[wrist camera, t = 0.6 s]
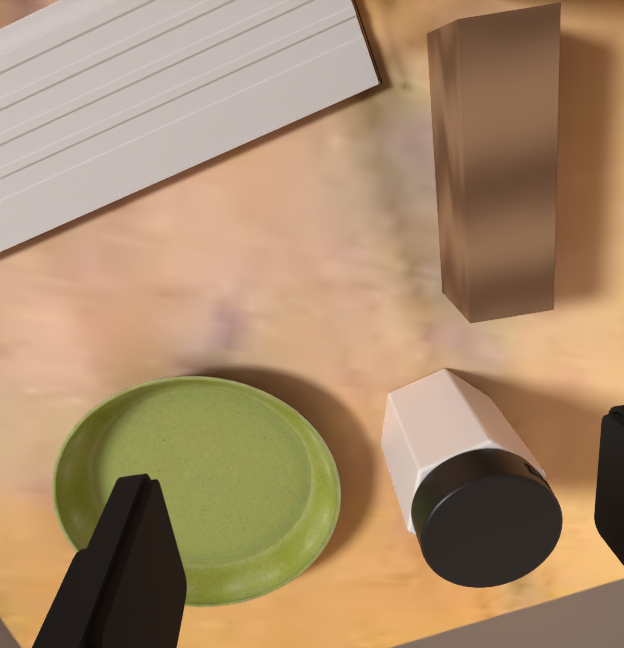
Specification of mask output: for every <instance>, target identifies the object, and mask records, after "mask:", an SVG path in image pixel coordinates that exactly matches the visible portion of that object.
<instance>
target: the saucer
mask: <svg viewBox="0 0 624 648" xmlns="http://www.w3.org/2000/svg"><path fill="white" fill-rule="evenodd" d="M145 473H146V474H148V475H149V477H150V479H151V480H153V479H157V480H158V481H159V482H160V485H161V489H162V492H163V496H164V500H165V503H166V507H167V510H168V514H169V518H170V521H171V525H172V528H173V532H174V535H175V539H176V543H177V546H178V550H179V553H180V557H181V561H182V564H183V568H184V571H185V575H186V581H187V594H186V600H185V605H184V606H189V607H214V606H223V605H230V604H236V603H241V602H245V601H249V600H252V599H255V598H258V597H261V596H264V595H266V594H268V593H270V592H273V591H275V590H277V589H279V588H281V587H283V586H284V585H286V584H288V583H289V582H291V581H292V580H294V579H295V578H296V577H298V576H299V575H300V574H302V573H303V572H304V571H305V570H306V569H307V568H309V567H310V566H311V564H312V563H313V562H314V561H315V560H316V559H317V558H318V556H319V555H320V554H321V552H322V551H323V550H324V548H325V547H326V545H327V543H328V542H329V540H330V538H331V536H332V534H333V532H334V529H335V527H336V524H337V520H338V517H339V512H340V505H341V486H340V479H339V474H338V470H337V466H336V463H335V461H334V458H333V456H332V454H331V452H330V449H329V448H328V446H327V444H326V443H325V441H324V440H323V438H322V437H321V435H320V434H319V433H318V431H317V430H316V429H315V428H314V427H313V426H312V424H311V423H310V422H309V421H308V420H307V419H306V418H304V417H303V416H302V415H301V414H300V413H299V412H298V411H296V410H295V409H294V408H292V407H291V406H290V405H288V404H287V403H285V402H283V401H282V400H280V399H278V398H277V397H275V396H273V395H271V394H269V393H267V392H265V391H263V390H260V389H258V388H255V387H253V386H250V385H247V384H244V383H240V382H237V381H233V380H228V379H222V378H216V377H207V376H178V377H169V378H162V379H157V380H152V381H148V382H144V383H141V384H138V385H135V386H132V387H130V388H127V389H125V390H123V391H120V392H118V393H116V394H114V395H113V396H111V397H109V398H107V399H106V400H104V401H102V402H101V403H99V404H98V405H97V406H95V407H94V408H93V409H91V410H90V411H89V412H88V413H87V414H86V415H85V416H84V417H83V418H82V419H81V420H80V421H79V422H78V423H77V424H76V425H75V426H74V428H73V429H72V430H71V431H70V433H69V434H68V436H67V438H66V440H65V441H64V443H63V445H62V446H61V448H60V451H59V453H58V456H57V459H56V462H55V467H54V472H53V481H52V496H53V503H54V508H55V513H56V516H57V519H58V522H59V524H60V527H61V529H62V531H63V533H64V534H65V536H66V538H67V540H68V541H69V543H70V544H71V546H72V547H73V549H74V550H75V551H76V553H77V552H78V551H79V550H81V549H85V548H87V546H88V544H89V541H90V539H91V537H92V535H93V532H94V530H95V528H96V526H97V523H98V521H99V519H100V517H101V514H102V512H103V510H104V508H105V505H106V503H107V501H108V498H109V496H110V494H111V492H112V489H113V487H114V485H115V483H116V481H117V479H118V478H119V477H124V476H131V475H138V474H145Z"/></svg>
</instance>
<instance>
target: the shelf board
mask: <svg viewBox="0 0 624 648" xmlns="http://www.w3.org/2000/svg"><path fill="white" fill-rule="evenodd" d="M560 10H561V3H556V4H550V5H543V6H537V7H531V8H525V9H519V10H512V11H506V12H500V13H494V14H488V15H482V16H475V17H469V18H463V19H458V20H456V21H453V22H451V23H449V24H447V25H445V26H443V27H441V28H438V29H436V30H434V31H432V32H430V33H428V34H427V45H428V61H429V78H430V94H431V111H432V127H433V144H434V160H435V177H436V193H437V210H438V226H439V243H440V259H441V276H442V292H443V293H444V294H445V295H446V297H447V298H448V299H449V300H450V301H451V302H452V303H453V304H454V305H455V307H456V308H457V309H458V310H459V311H460V312H461V313H462V314H463V316H464V317H465V318H466V319H467V320H468V321H469V322H470V323H475V322H481V321H487V320H494V319H500V318H506V317H512V316H518V315H524V314H530V313H536V312H542V311H549V310H554V268H555V225H556V182H557V139H558V96H559V53H560Z"/></svg>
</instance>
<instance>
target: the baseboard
mask: <svg viewBox="0 0 624 648" xmlns="http://www.w3.org/2000/svg"><path fill="white" fill-rule="evenodd" d="M354 1H355V0H354ZM355 4H356V1H355ZM356 8H357V11H358V14H359V17H360V13H359V10H358V7H357V4H356ZM360 20H361V17H360ZM361 23H362V20H361ZM362 26H363V23H362ZM363 29H364V26H363ZM364 32H365V29H364ZM365 35H366V32H365ZM366 38H367V35H366ZM367 41H368V38H367ZM368 44H369V41H368ZM369 47H370V44H369ZM370 50H371V47H370ZM371 53H372V50H371ZM372 56H373V53H372ZM373 60H374V63H375V59H374V56H373ZM375 66H376V63H375ZM376 69H377V66H376ZM377 72H378V69H377ZM378 75H379V72H378ZM379 80H380V82H381V84H382V78H380V75H379ZM378 84H379V82H378V79H377V76H376V73H375V70H374V67H373V64H372V61H371V58H370V55H369V52H368V49H367V46H366V43H365V40H364V37H363V35H362V32H361V29H360V26H359V23H358V19H357V16H356V12H355V9H354V6H353V4H352V1H351V0H59V1H57V2H55V3H53V4H51V5H49V6H47V7H45V8H43V9H41V10H39V11H37V12H35V13H33V14H30V15H28V16H26V17H24V18H22V19H20V20H18V21H16V22H14V23H12V24H10V25H8V26H6V27H4V28H2V29H0V252H1V251H4V250H6V249H8V248H10V247H13V246H15V245H17V244H19V243H22V242H24V241H26V240H29V239H31V238H33V237H35V236H38V235H40V234H42V233H44V232H47V231H49V230H51V229H53V228H56V227H58V226H60V225H62V224H65V223H67V222H69V221H71V220H74V219H76V218H78V217H80V216H83V215H85V214H87V213H89V212H92V211H94V210H96V209H98V208H101V207H103V206H105V205H107V204H110V203H112V202H114V201H116V200H119V199H121V198H123V197H125V196H128V195H130V194H132V193H134V192H137V191H139V190H141V189H143V188H146V187H148V186H150V185H152V184H155V183H157V182H159V181H161V180H164V179H166V178H168V177H170V176H173V175H175V174H177V173H179V172H182V171H184V170H186V169H188V168H191V167H193V166H195V165H197V164H200V163H202V162H204V161H207V160H209V159H211V158H213V157H216V156H218V155H220V154H222V153H225V152H227V151H229V150H231V149H234V148H236V147H238V146H240V145H243V144H245V143H247V142H249V141H252V140H254V139H256V138H258V137H261V136H263V135H265V134H267V133H270V132H272V131H274V130H276V129H279V128H281V127H283V126H285V125H288V124H290V123H292V122H294V121H297V120H299V119H301V118H303V117H306V116H308V115H310V114H312V113H315V112H317V111H319V110H321V109H324V108H326V107H328V106H330V105H333V104H335V103H337V102H339V101H342V100H344V99H346V98H348V97H351V96H353V95H355V94H357V93H360V92H362V91H364V90H366V89H369V88H371V87H373V86H375V85H378Z"/></svg>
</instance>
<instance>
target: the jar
mask: <svg viewBox="0 0 624 648" xmlns="http://www.w3.org/2000/svg"><path fill="white" fill-rule="evenodd" d="M381 447H382V450H383V454H384V457H385V460H386V463H387V466H388V469H389V473H390V476H391V479H392V482H393V485H394V488H395V492H396V495H397V498H398V501H399V504H400V508H401V511H402V514H403V517H404V520H405V523H406V527H407V529H408V531H409V532H411V533H413V534H415V535H416V536H417V539H418V542H419V545H420V548H421V551H422V554H423V556H424V558H425V560H426V562H427V564H428V565H429V566H430V568H431V569H432V570H433V571H434V572H435V573H436V574H438V575H439V576H440V577H442V578H443V579H445V580H447V581H449V582H452V583H454V584H457V585H461V586H465V587H474V588H485V587H493V586H499V585H503V584H506V583H509V582H512V581H515V580H517V579H519V578H521V577H523V576H525V575H527V574H528V573H530V572H531V571H533V570H534V569H536V568H537V567H538V566H539V565H540V564H542V563H543V562H544V561H545V560H546V558H547V557H548V556H549V555H550V554H551V552H552V551H553V549H554V548H555V546H556V544H557V542H558V540H559V537H560V534H561V530H562V519H563V518H562V511H561V507H560V505H559V502H558V500H557V498H556V497H555V495H554V493H553V492H552V490H551V487H550V486H549V485H548V483H547V482H546V480H545V477H546V473H545V471H544V470H543V468H542V467H541V466H540V464H539V463H538V462H537V460H536V459H535V458H534V456H533V455H532V454H531V452H530V451H529V450H528V448H527V447H526V445H525V444H524V443H523V441H522V440H521V439H520V437H519V436H518V435H517V433H516V432H515V431H514V429H513V428H512V427H511V425H510V424H509V422H508V421H507V420H506V418H505V417H504V416H503V414H502V413H501V412H500V410H499V409H498V408H497V406H496V405H495V404H494V402H493V401H492V400H491V398H490V397H489V396H487V395H486V394H484V393H483V392H481V391H480V390H478V389H476V388H475V387H473V386H472V385H470V384H469V383H467V382H466V381H464V380H462V379H461V378H459V377H458V376H456V375H455V374H453V373H452V372H450V371H448V370H447V369H442V370H440V371H437V372H435V373H433V374H431V375H428V376H426V377H424V378H422V379H419V380H417V381H415V382H412V383H410V384H408V385H406V386H403V387H401V388H399V389H397V390H394V391H392V392H390V393H389V394H388V398H387V405H386V411H385V418H384V424H383V431H382V437H381Z"/></svg>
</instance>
